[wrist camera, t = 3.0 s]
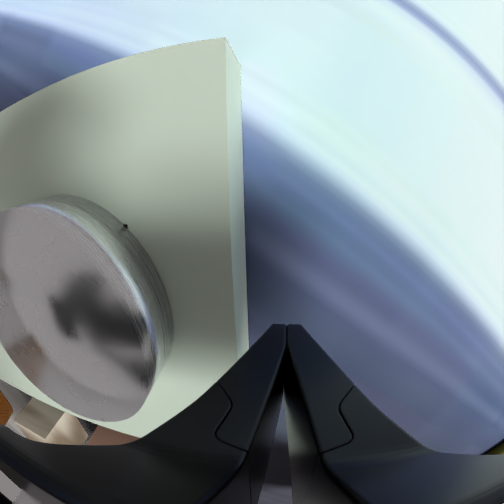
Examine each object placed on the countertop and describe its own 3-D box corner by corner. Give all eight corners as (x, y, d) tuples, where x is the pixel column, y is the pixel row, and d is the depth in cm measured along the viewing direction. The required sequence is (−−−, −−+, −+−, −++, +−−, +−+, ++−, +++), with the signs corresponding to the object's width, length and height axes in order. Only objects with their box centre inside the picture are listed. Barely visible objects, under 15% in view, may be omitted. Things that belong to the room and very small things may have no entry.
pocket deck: (251, 416, 15) (245, 456, 12) (11, 356, 18) (-8, 374, 15) (240, 65, 10) (225, 37, 7) (-37, 154, 12) (-65, 159, 9)
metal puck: (190, 400, 11) (173, 442, 9) (46, 363, 12) (22, 389, 10) (157, 183, 8) (113, 195, 6) (0, 204, 9) (-38, 217, 7)
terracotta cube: (171, 455, 18) (155, 497, 14) (124, 443, 19) (104, 480, 15) (158, 425, 17) (136, 472, 13) (106, 411, 17) (81, 452, 13)
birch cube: (88, 435, 20) (68, 467, 15) (56, 421, 20) (36, 449, 16) (70, 405, 18) (45, 439, 14) (38, 391, 19) (13, 419, 15)
